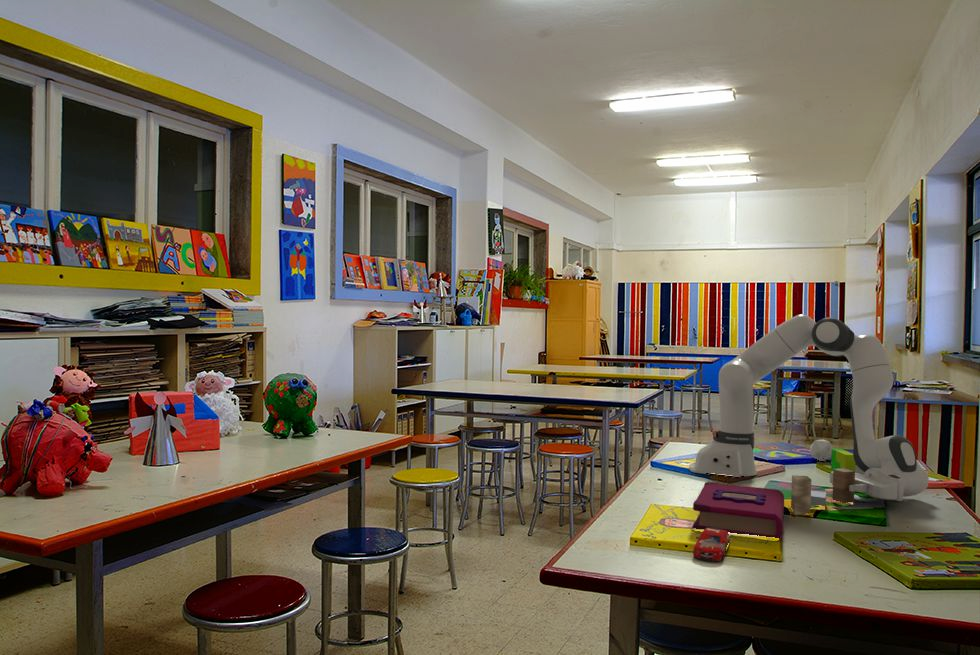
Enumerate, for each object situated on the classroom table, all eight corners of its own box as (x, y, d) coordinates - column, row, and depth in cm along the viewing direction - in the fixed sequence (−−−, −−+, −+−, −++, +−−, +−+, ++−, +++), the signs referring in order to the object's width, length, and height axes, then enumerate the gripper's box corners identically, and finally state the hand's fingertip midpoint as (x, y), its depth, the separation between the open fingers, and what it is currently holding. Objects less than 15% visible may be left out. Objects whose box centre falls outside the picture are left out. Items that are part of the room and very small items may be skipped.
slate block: (798, 508, 207) (798, 494, 207) (799, 502, 213) (799, 489, 213) (825, 512, 204) (825, 497, 204) (825, 506, 210) (826, 492, 210)
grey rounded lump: (807, 462, 274) (822, 445, 269) (802, 447, 282) (817, 430, 276) (827, 470, 275) (842, 453, 270) (821, 455, 282) (836, 438, 277)
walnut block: (842, 506, 209) (843, 472, 209) (832, 503, 213) (833, 469, 213) (853, 505, 210) (855, 471, 210) (843, 502, 214) (844, 468, 214)
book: (783, 515, 200) (784, 487, 200) (781, 544, 175) (782, 513, 174) (704, 505, 208) (705, 479, 208) (691, 532, 183) (692, 502, 183)
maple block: (794, 514, 199) (796, 478, 199) (790, 510, 203) (791, 475, 203) (810, 515, 199) (811, 479, 199) (805, 511, 203) (806, 476, 203)
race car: (721, 566, 158) (721, 544, 158) (689, 561, 161) (690, 539, 161) (733, 545, 173) (733, 524, 172) (704, 540, 176) (704, 520, 175)
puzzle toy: (875, 486, 236) (876, 455, 235) (844, 485, 236) (845, 454, 236) (860, 479, 246) (861, 449, 245) (830, 478, 246) (831, 448, 246)
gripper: (851, 465, 225) (815, 467, 221) (908, 480, 206) (869, 482, 202) (851, 485, 225) (814, 487, 221) (907, 502, 206) (868, 505, 202)
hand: (841, 485), depth 211 cm, fingers open, 4 cm apart
